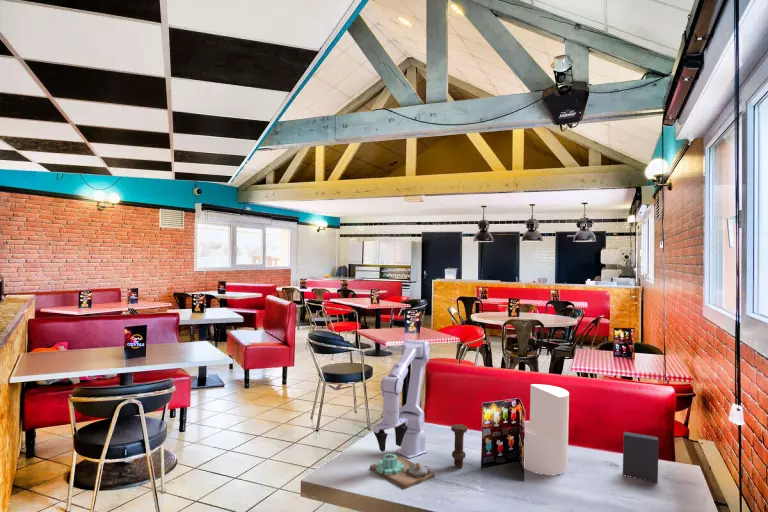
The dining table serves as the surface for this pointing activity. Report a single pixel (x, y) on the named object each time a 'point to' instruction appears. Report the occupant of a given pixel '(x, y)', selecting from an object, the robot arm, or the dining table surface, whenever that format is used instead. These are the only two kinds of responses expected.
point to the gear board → (408, 473)
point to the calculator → (640, 456)
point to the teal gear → (389, 465)
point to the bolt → (458, 444)
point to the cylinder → (547, 430)
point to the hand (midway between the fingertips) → (390, 448)
